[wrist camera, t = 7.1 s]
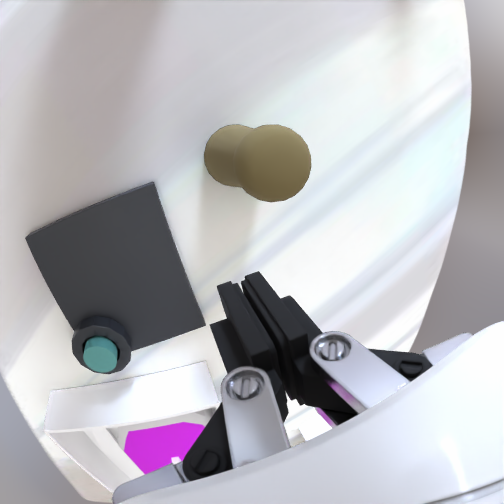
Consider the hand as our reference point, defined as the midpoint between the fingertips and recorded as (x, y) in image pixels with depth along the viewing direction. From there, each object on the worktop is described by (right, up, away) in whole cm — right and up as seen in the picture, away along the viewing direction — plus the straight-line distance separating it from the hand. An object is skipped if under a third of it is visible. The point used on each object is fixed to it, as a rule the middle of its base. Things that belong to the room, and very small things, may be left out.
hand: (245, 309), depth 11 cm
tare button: (-15, -8, +15) cm, 23 cm away
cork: (-1, +11, +16) cm, 20 cm away
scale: (-13, -1, +16) cm, 21 cm away
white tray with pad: (-14, -29, +28) cm, 43 cm away
